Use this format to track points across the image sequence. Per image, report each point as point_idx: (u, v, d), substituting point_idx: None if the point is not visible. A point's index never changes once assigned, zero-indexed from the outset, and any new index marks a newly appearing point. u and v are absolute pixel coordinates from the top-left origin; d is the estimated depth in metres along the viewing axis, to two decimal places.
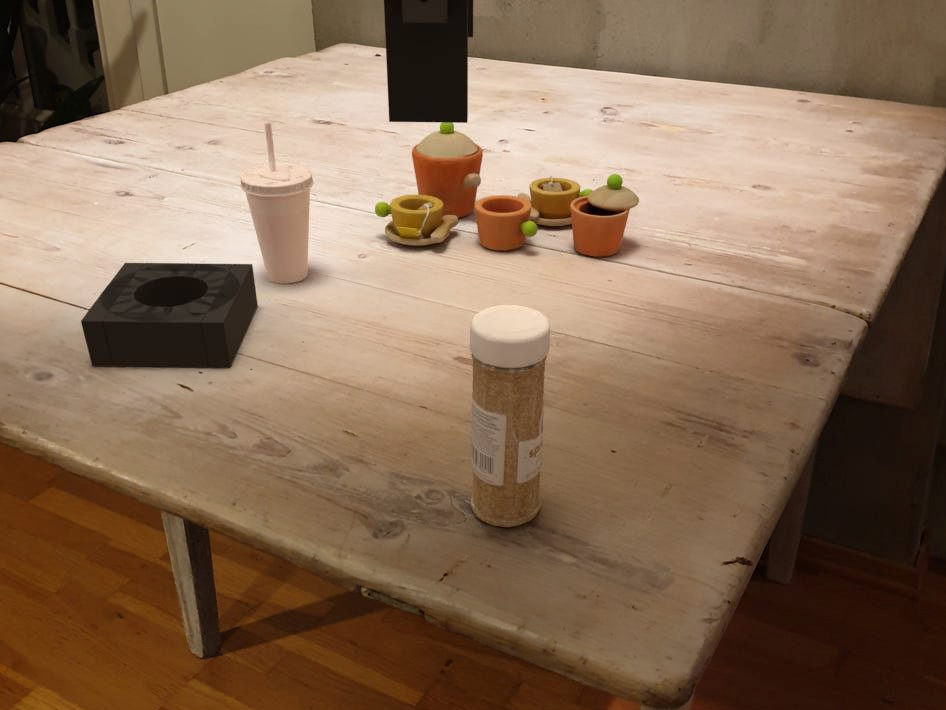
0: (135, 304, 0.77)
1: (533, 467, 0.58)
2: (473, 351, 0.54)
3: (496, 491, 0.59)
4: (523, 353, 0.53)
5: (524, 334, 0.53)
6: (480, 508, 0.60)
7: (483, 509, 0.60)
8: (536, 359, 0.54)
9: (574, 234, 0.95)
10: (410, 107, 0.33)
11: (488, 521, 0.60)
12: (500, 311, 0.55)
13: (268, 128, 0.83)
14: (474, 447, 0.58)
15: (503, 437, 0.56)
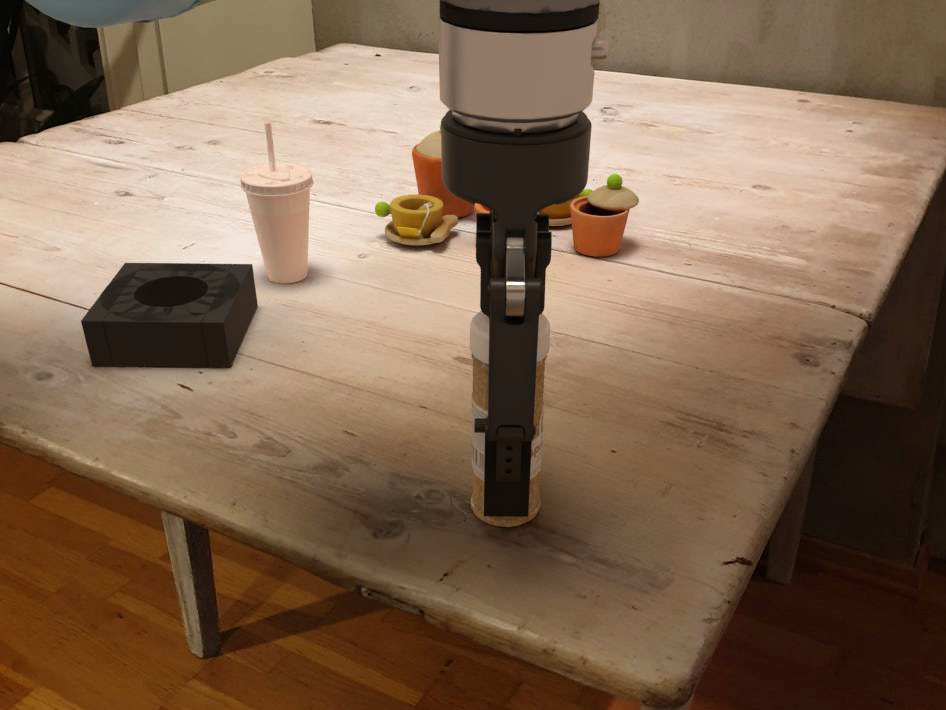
0: (135, 304, 0.77)
1: (533, 467, 0.58)
2: (473, 351, 0.55)
3: None
4: None
5: None
6: (480, 508, 0.60)
7: (483, 509, 0.60)
8: None
9: (574, 234, 0.95)
10: (496, 510, 0.58)
11: (488, 521, 0.60)
12: None
13: (268, 128, 0.83)
14: (474, 447, 0.58)
15: None
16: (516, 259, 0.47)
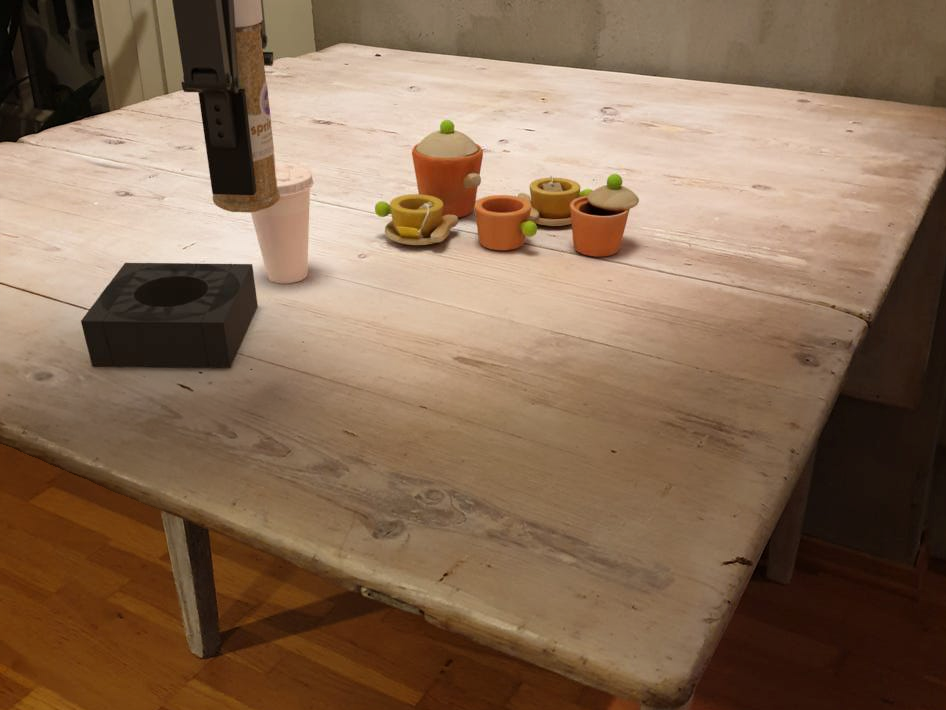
0: (135, 304, 0.77)
1: (259, 147, 0.62)
2: None
3: None
4: None
5: None
6: (216, 194, 0.64)
7: (218, 194, 0.64)
8: (241, 22, 0.58)
9: (574, 234, 0.95)
10: (223, 187, 0.62)
11: (223, 206, 0.64)
12: None
13: None
14: None
15: None
16: None
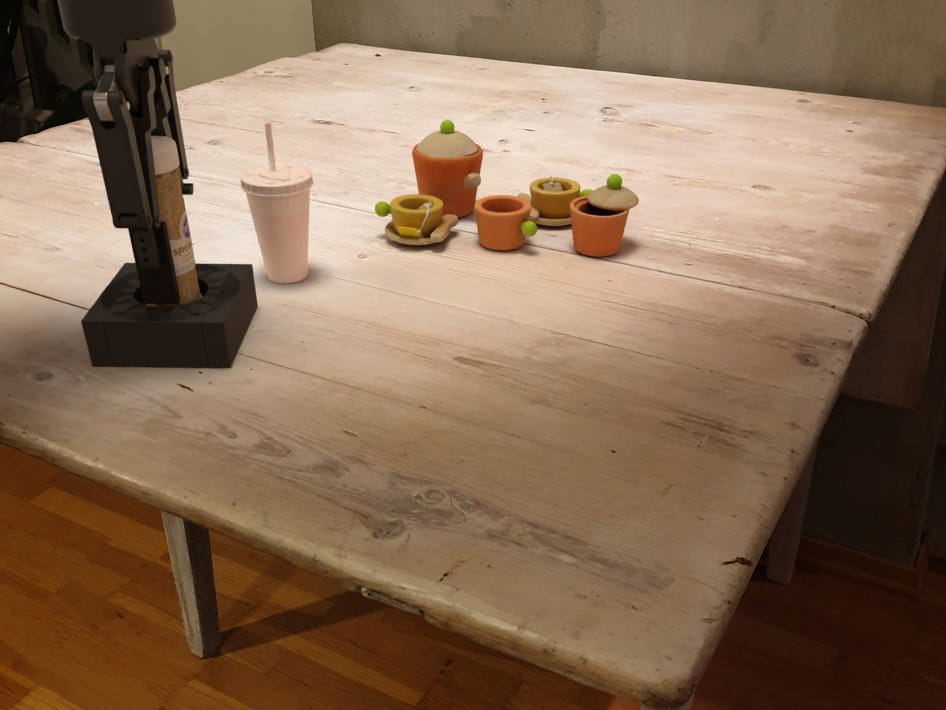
0: (135, 304, 0.77)
1: (181, 264, 0.76)
2: None
3: None
4: None
5: None
6: None
7: None
8: (160, 170, 0.71)
9: (574, 234, 0.95)
10: (152, 298, 0.76)
11: None
12: None
13: (268, 128, 0.83)
14: None
15: None
16: (107, 79, 0.65)
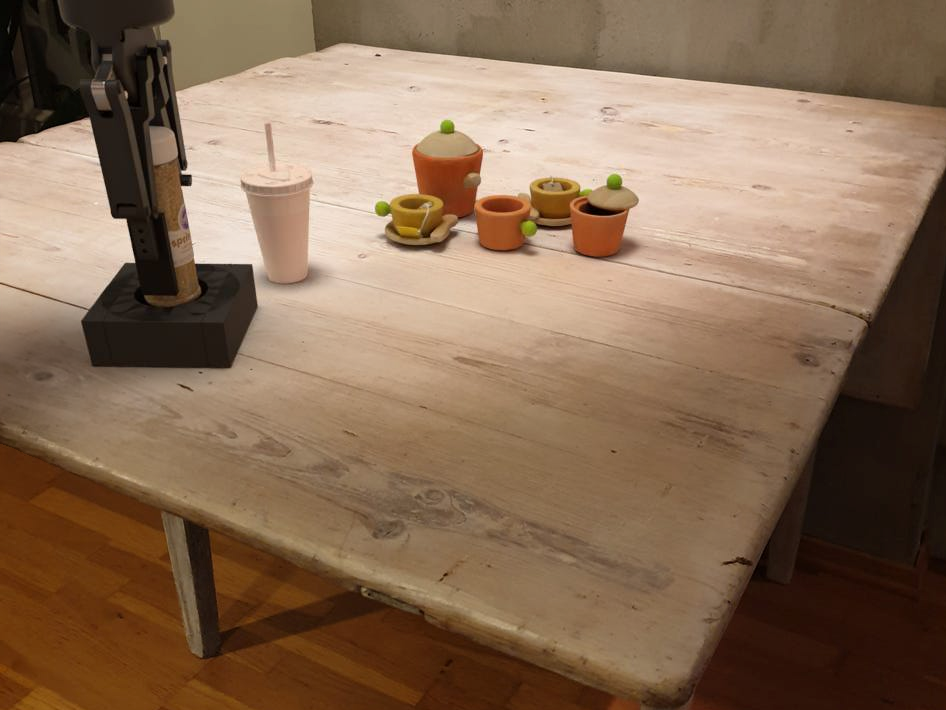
0: (135, 304, 0.77)
1: (179, 256, 0.75)
2: None
3: None
4: None
5: None
6: None
7: None
8: (158, 161, 0.71)
9: (574, 234, 0.95)
10: (150, 289, 0.76)
11: (152, 303, 0.77)
12: None
13: (268, 128, 0.83)
14: None
15: None
16: (105, 68, 0.64)
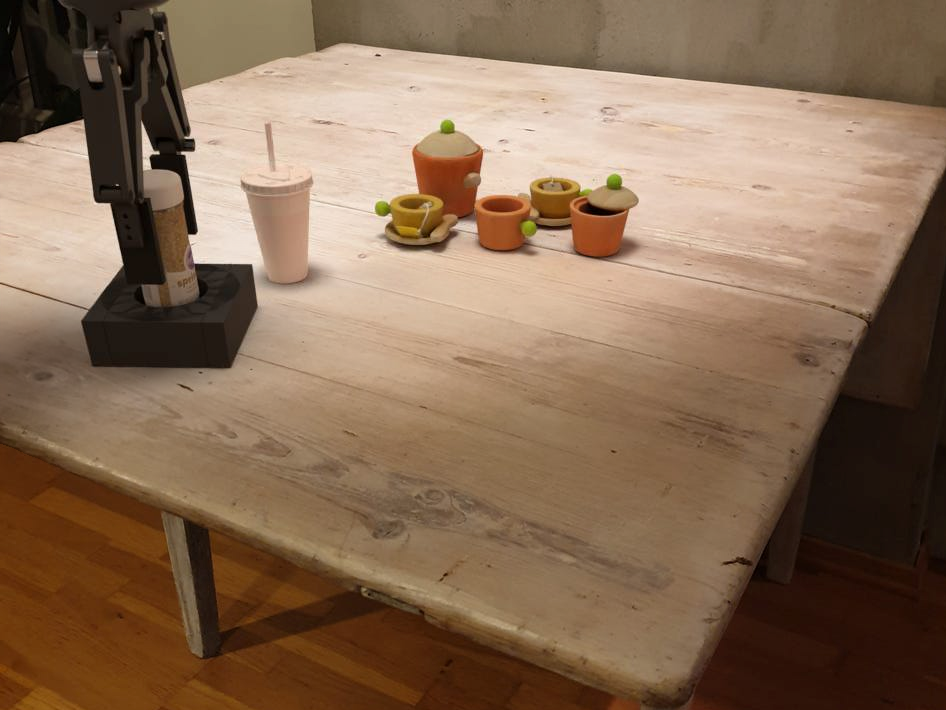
0: (135, 304, 0.77)
1: (185, 295, 0.77)
2: None
3: None
4: (152, 199, 0.72)
5: (152, 185, 0.72)
6: None
7: None
8: (165, 205, 0.73)
9: (573, 234, 0.95)
10: (136, 278, 0.72)
11: None
12: (147, 172, 0.74)
13: (268, 128, 0.83)
14: None
15: None
16: (100, 43, 0.64)
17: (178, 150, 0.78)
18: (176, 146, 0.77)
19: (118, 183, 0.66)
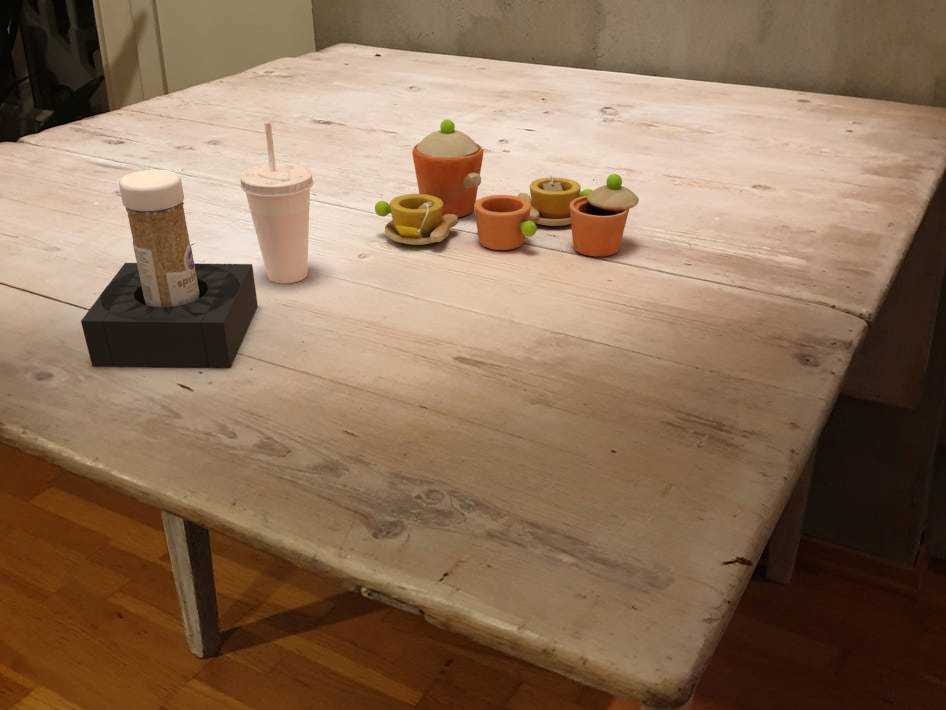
0: (135, 304, 0.77)
1: (185, 295, 0.77)
2: (122, 200, 0.73)
3: None
4: (152, 199, 0.72)
5: (152, 185, 0.72)
6: None
7: None
8: (165, 205, 0.73)
9: (573, 234, 0.95)
10: None
11: None
12: (147, 172, 0.74)
13: (268, 128, 0.83)
14: (140, 280, 0.77)
15: (153, 268, 0.75)
16: None
17: None
18: None
19: None
